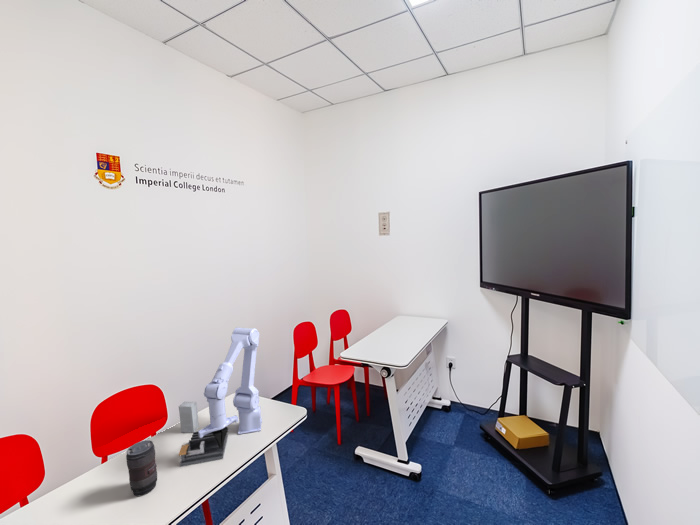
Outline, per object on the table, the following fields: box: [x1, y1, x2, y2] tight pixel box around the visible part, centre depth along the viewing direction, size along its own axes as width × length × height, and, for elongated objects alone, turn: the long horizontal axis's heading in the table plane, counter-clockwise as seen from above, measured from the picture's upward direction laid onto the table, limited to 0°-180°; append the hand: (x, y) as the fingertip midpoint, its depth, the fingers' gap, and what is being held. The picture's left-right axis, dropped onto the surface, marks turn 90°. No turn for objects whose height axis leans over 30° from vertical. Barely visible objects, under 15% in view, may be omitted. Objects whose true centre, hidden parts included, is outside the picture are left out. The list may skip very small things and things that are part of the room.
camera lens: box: [125, 439, 158, 497], centre depth 111 cm, size 8×8×15 cm
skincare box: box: [178, 401, 200, 433], centre depth 144 cm, size 6×4×12 cm
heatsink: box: [178, 430, 229, 467], centre depth 130 cm, size 15×14×5 cm
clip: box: [185, 441, 206, 458], centre depth 125 cm, size 8×2×4 cm, turn 103°
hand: (220, 446), depth 128 cm, fingers closed
